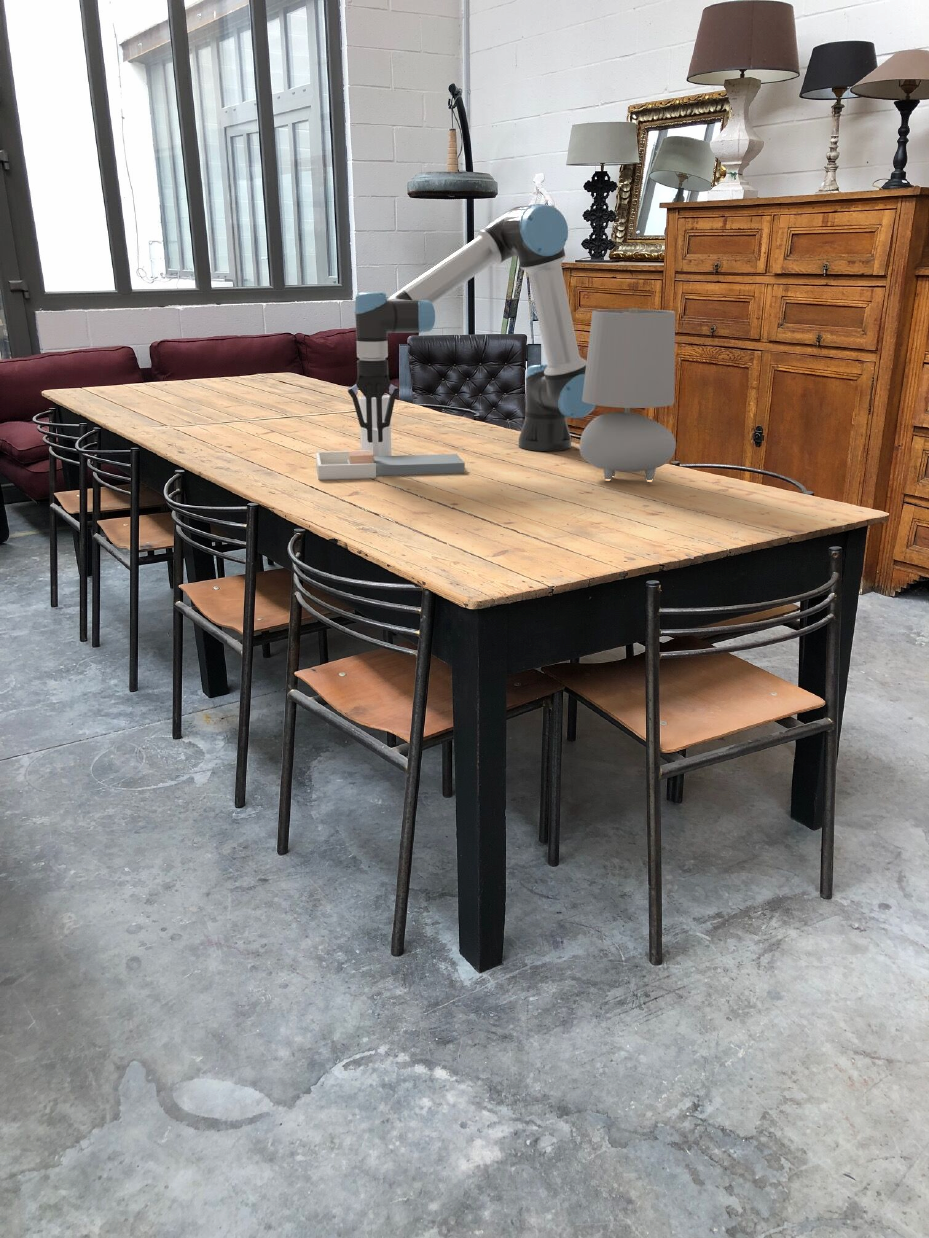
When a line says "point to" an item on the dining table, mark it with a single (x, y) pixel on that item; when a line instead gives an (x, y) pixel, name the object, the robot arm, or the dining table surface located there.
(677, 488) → the dining table surface
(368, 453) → the terracotta tile
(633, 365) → the table lamp
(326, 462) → the box
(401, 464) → the board
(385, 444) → the cup
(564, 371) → the robot arm
